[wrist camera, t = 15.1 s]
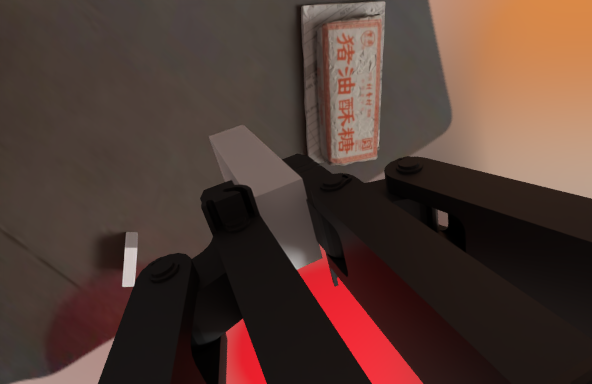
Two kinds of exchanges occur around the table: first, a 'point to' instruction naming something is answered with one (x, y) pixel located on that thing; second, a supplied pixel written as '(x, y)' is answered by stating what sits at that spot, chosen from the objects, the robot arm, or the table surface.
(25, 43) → the table surface
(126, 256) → the eraser
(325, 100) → the packaged product
